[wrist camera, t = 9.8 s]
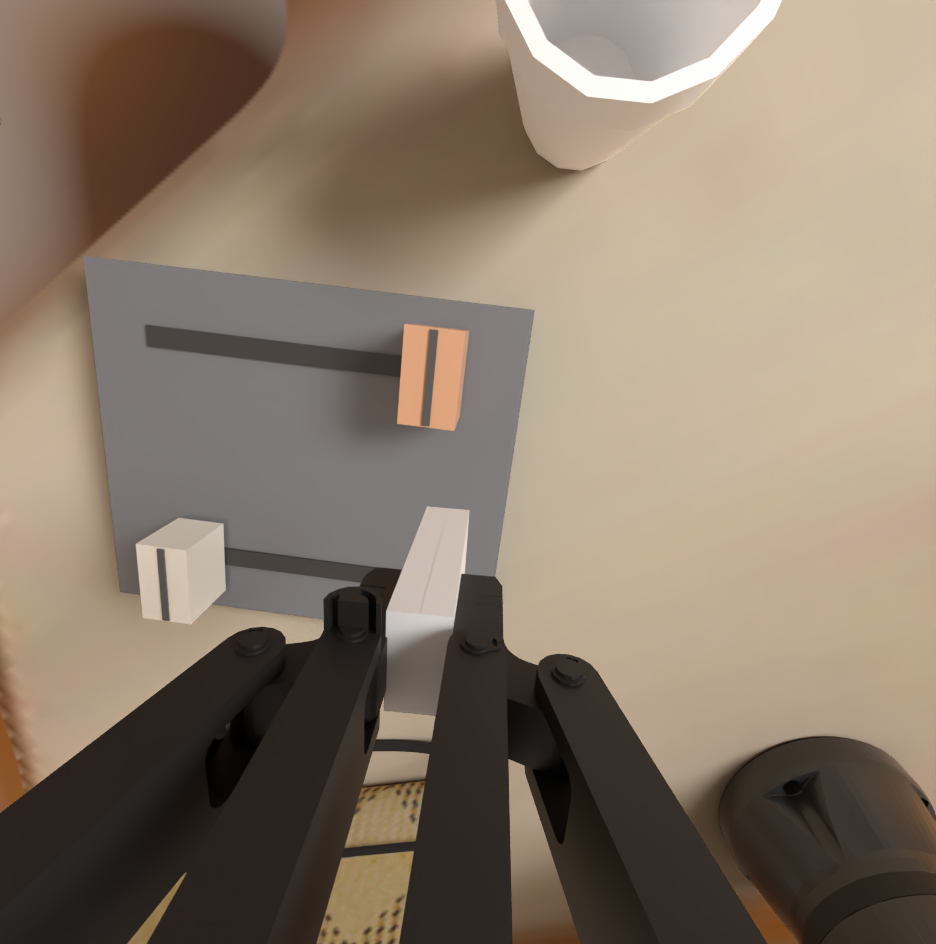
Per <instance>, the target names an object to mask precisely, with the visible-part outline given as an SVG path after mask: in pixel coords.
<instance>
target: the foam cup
mask: <svg viewBox="0 0 936 944" xmlns="http://www.w3.org/2000/svg"><path fill="white" fill-rule="evenodd" d="M781 1H782V0H496V2H497V15H498V27H499V33H500V35H501V37H502V39H503V41H504V43H505V45H506V47H507V49H508V52H509V57H510V62H511V67H512V72H513V77H514V82H515V87H516V92H517V97H518V102H519V107H520V112H521V117H522V122H523V126H524V130H525V132H526V133H527V135H528V137H529V139H530V141H531V143H532V145H533V147H534V149H535V151H536V153H537V154H538V155H540V156H541V157H543V158H544V159H545V160H547V161H548V162H550V163H551V164H552V165H554V166H555V167H557V168H561V169H570V170H580V171H583V170H585V169H588V168H590V167H593V166H595V165H597V164H600V163H602V162H605V161H607V160H608V159H610V158H612V157H613V156H614V155H616V154H617V153H618V152H620V151H621V150H622V149H624V148H625V147H627V146H628V145H629V144H631V143H632V142H633V141H635V140H636V139H638V138H639V137H640V136H642V135H643V134H644V133H646V132H647V131H649V130H650V129H651V128H653V127H654V126H655V125H657V124H658V123H660V122H661V121H662V120H664V119H665V118H666V117H668V116H670V115H673V114H675V113H678V112H680V111H683V110H685V109H688V108H690V107H691V106H692V105H693V104H694V103H695V102H696V101H697V99H698V98H699V97H700V96H701V95H702V94H703V93H704V92H705V91H706V90H707V89H708V88H709V87H710V86H711V85H712V84H713V83H714V82H715V81H716V80H717V79H718V78H719V77H720V76H721V75H722V74H723V72H724V71H725V70H726V69H727V68H728V67H729V66H730V65H731V64H732V63H733V62H734V61H735V60H736V59H737V58H738V57H739V56H740V55H741V54H742V52H743V51H744V50H745V49H746V48H747V47H748V46H749V45H750V44H751V42H752V41H753V40H754V39H755V38H756V37H757V36H758V35H759V34H760V32H761V31H762V30H763V29H764V28H765V27H766V26H767V25H768V24H769V22H770V21H771V20H772V19H773V18H774V17H775V14H776V12H777V10H778V8H779V5H780V3H781Z"/></svg>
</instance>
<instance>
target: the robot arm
mask: <svg viewBox="0 0 936 944" xmlns="http://www.w3.org/2000/svg"><path fill="white" fill-rule="evenodd" d="M468 523H469V510H463V509H451V508H439V507H428V506H427V508H426V511H425V513H424V516H423V518H422V521H421V523H420V526H419V528H418V531H417V533H416V536H415V539H414V541H413V544H412V546H411V549H410V551H409V554H408V556H407V559H406V562H405V564H404V567H403V569H392V568H381V567H376V568H375V569H373V570H372V571H370V572H369V573H367V574H366V575H365V576H364V578H363V580H362V582H361V584H360V586H355V587H345V588H340V589H337V590H335V591H333V592H331V593H329V594H328V595H327V596H326V597H325V598H324V599H323V605H324V631H323V633H322V635H321V637H320V638H319V639H316V640H313V641H308V642H302V643H293V644H286V641H285V637H284V635H283V634H282V632H280V631H278V630H276V629H274V628H267V627H257V628H256V627H255V628H249V629H246V630H243V631H240V632H237V633H236V634H234V635H232V636H230V637H229V638H227V639H226V640H225V641H223V642H222V643H221V644H219V645H218V646H217V647H216V648H214V649H213V650H212V651H210V652H209V653H208V654H206V655H205V656H204V657H203V658H201V659H200V660H199V661H197V662H196V663H195V664H193V665H192V666H191V667H190V668H188V669H187V670H186V671H184V672H183V673H182V674H180V675H179V676H178V677H177V678H175V679H174V680H173V681H171V682H170V683H169V684H167V685H166V686H165V687H164V688H162V689H161V690H160V691H158V692H157V693H156V694H154V695H153V696H152V697H151V698H149V699H148V700H147V701H145V702H144V703H143V704H141V705H140V706H139V707H138V708H136V709H135V710H134V711H132V712H131V713H130V714H128V715H127V716H126V717H125V718H123V719H122V720H121V721H119V722H118V723H117V724H115V725H114V726H113V727H112V728H110V729H109V730H108V731H106V732H105V733H104V734H102V735H101V736H100V737H99V738H97V739H96V740H95V741H93V742H92V743H91V744H89V745H88V746H87V747H85V748H84V749H83V750H82V751H80V752H79V753H78V754H76V755H75V756H74V757H72V758H71V759H70V760H69V761H67V762H66V763H65V764H63V765H62V766H61V767H59V768H58V769H57V770H56V771H54V772H53V773H52V774H50V775H49V776H48V777H46V778H45V779H44V780H43V781H41V782H40V783H39V784H37V785H36V786H35V787H33V788H32V789H31V790H30V791H28V792H27V793H26V794H24V795H23V796H22V797H21V798H19V799H18V800H17V801H15V802H14V803H13V804H11V805H10V806H9V807H7V808H6V809H5V810H4V811H2V812H1V813H0V944H127V943H128V942H129V941H130V940H131V938H132V937H133V936H134V935H135V934H136V932H137V931H138V930H139V929H140V927H141V926H142V925H143V924H144V922H145V921H146V920H147V919H148V918H149V916H150V915H151V914H152V913H153V911H154V910H155V909H156V908H157V906H158V905H159V904H160V903H161V902H162V900H163V899H164V898H165V897H166V895H167V894H168V893H169V892H170V890H171V889H172V888H173V887H174V886H175V884H176V883H177V882H178V881H179V879H180V878H181V877H182V876H183V874H184V873H185V872H186V871H187V869H188V868H189V867H190V868H189V870H188V872H187V873H186V875H185V877H184V879H183V880H182V882H181V884H180V886H179V887H178V889H177V891H176V893H175V895H174V896H173V898H172V900H171V902H170V903H169V905H168V907H167V909H166V910H165V912H164V914H163V916H162V917H161V919H160V921H159V923H158V925H157V926H156V928H155V930H154V932H153V933H152V935H151V937H150V939H149V940H148V942H147V944H317V940H318V937H319V933H320V930H321V927H322V923H323V920H324V916H325V913H326V909H327V906H328V902H329V899H330V896H331V892H332V889H333V885H334V882H335V878H336V875H337V872H338V868H339V865H340V861H341V858H342V854H343V851H344V847H345V844H346V841H347V837H348V834H349V830H350V827H351V823H352V820H353V817H354V813H355V810H356V806H357V803H358V799H359V796H360V792H361V789H362V786H363V782H364V779H365V775H366V772H367V768H368V765H369V762H370V758H371V755H372V751H373V748H374V744H375V741H376V737H377V734H378V731H379V719H380V707H381V704H382V701H383V698H384V711H393V712H403V713H413V714H423V715H432V716H436V718H435V724H434V730H433V736H432V743H431V749H430V755H429V761H428V767H427V773H426V780H425V786H424V792H423V798H422V804H421V811H420V817H419V823H418V829H417V835H416V841H415V848H414V854H413V860H412V866H411V872H410V878H409V885H408V891H407V897H406V903H405V909H404V915H403V922H402V928H401V934H400V940H399V944H512V908H511V862H510V816H509V770H508V759H510V760H513V761H515V762H517V763H520V764H522V765H525V774H526V777H527V780H528V783H529V786H530V789H531V793H532V796H533V799H534V802H535V805H536V808H537V811H538V814H539V817H540V820H541V823H542V826H543V829H544V832H545V835H546V838H547V841H548V844H549V848H550V851H551V854H552V857H553V860H554V863H555V866H556V869H557V872H558V875H559V878H560V881H561V884H562V887H563V890H564V893H565V896H566V899H567V902H568V906H569V909H570V912H571V915H572V918H573V921H574V924H575V927H576V930H577V933H578V936H579V939H580V942H581V944H767V942H766V941H765V939H764V938H763V936H762V934H761V933H760V931H759V930H758V928H757V926H756V925H755V923H754V922H753V920H752V918H751V917H750V915H749V914H748V912H747V910H746V909H745V907H744V906H743V904H742V902H741V901H740V899H739V898H738V896H737V894H736V893H735V891H734V890H733V888H732V886H731V885H730V883H729V882H728V880H727V878H726V877H725V875H724V874H723V872H722V870H721V869H720V867H719V866H718V864H717V862H716V861H715V859H714V858H713V856H712V854H711V853H710V851H709V850H708V848H707V846H706V845H705V843H704V842H703V840H702V838H701V837H700V835H699V834H698V832H697V830H696V829H695V827H694V826H693V824H692V822H691V821H690V819H689V818H688V816H687V814H686V813H685V811H684V810H683V808H682V806H681V805H680V803H679V802H678V800H677V798H676V797H675V795H674V794H673V792H672V790H671V789H670V787H669V786H668V784H667V782H666V781H665V779H664V778H663V776H662V774H661V773H660V771H659V770H658V768H657V766H656V765H655V763H654V762H653V760H652V758H651V757H650V755H649V754H648V752H647V750H646V749H645V747H644V746H643V744H642V742H641V741H640V739H639V738H638V736H637V734H636V733H635V731H634V730H633V728H632V726H631V725H630V723H629V722H628V720H627V718H626V717H625V715H624V714H623V712H622V710H621V709H620V707H619V706H618V704H617V703H616V701H615V699H614V698H613V696H612V695H611V693H610V691H609V690H608V688H607V687H606V685H605V683H604V682H603V680H602V679H601V677H600V675H599V674H598V672H597V671H596V670H595V669H594V668H593V667H592V666H591V664H589V663H587V662H586V661H584V660H582V659H581V658H578V657H575V656H572V655H567V654H554V655H549V656H547V657H545V658H544V659H542V660H541V661H540V663H539V665H535V664H532V663H529V662H526V661H524V660H522V659H519V658H518V657H516V656H515V655H513V654H512V653H511V652H510V651H509V650H508V649H507V647H506V646H505V643H504V640H503V607H502V606H503V603H502V585H501V584H500V583H499V581H498V580H497V579H496V577H494V576H483V575H472V574H465V563H466V550H467V537H468ZM719 823H720V828H721V831H722V834H723V836H724V838H725V840H726V843H727V845H728V847H729V849H730V851H731V854H732V856H733V858H734V860H735V862H736V864H737V865H738V867H739V869H740V870H741V871H742V873H743V874H744V875H745V876H746V877H747V878H748V880H749V881H750V882H751V883H752V884H753V885H754V886H755V887H756V888H757V889H758V890H759V892H760V893H761V894H762V896H763V897H764V898H765V900H766V901H767V902H768V904H769V905H770V906H771V908H772V909H773V910H774V911H775V913H776V914H777V915H778V917H779V918H780V919H781V920H782V922H783V923H784V924H785V926H786V927H787V928H788V929H789V931H790V932H791V933H792V934H793V936H794V937H795V938H796V940H797V941H798V943H799V944H936V814H935V811H934V809H933V807H932V805H931V803H930V801H929V799H928V797H927V796H926V794H925V793H924V792H923V790H922V789H921V787H920V786H919V785H918V784H917V783H916V782H915V781H914V780H913V778H912V777H911V776H910V775H909V774H908V773H907V772H906V771H905V770H904V769H903V767H902V766H901V765H900V764H899V763H898V762H897V761H896V760H895V759H894V758H892V757H891V756H890V755H889V754H887V753H886V752H884V751H882V750H881V749H879V748H877V747H874V746H872V745H870V744H867V743H864V742H861V741H857V740H852V739H846V738H836V737H820V738H810V739H804V740H799V741H794V742H791V743H787V744H784V745H781V746H779V747H776V748H774V749H771V750H769V751H767V752H765V753H764V754H762V755H760V756H758V757H757V758H755V759H754V760H752V761H751V762H750V763H748V764H747V765H746V766H745V767H743V768H742V769H741V770H740V771H739V772H738V773H737V774H736V776H735V777H734V778H733V779H732V781H731V782H730V783H729V785H728V786H727V788H726V790H725V792H724V794H723V797H722V800H721V803H720V808H719Z"/></svg>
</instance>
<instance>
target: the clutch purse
mask: <svg viewBox="0 0 936 944" xmlns="http://www.w3.org/2000/svg"><path fill="white" fill-rule="evenodd" d="M430 749H431V744H430V743H423V742H414V741H394V740H381V741H375V744H374V748H373V751H406V752H418V753H426V754H430ZM424 786H425V781H421V782H412V783H402V784H393V785H384V786H375V787H366V788H362V789H361V792H360V796H359V799H358V803H357V806H356V810H355V813H354V817H353V820H352V823H351V827H350V830H349V834H348V837H347V841H346V844H345V847H344V851H343V854H342V858H341V861H340V865H339V868H338V872H337V875H336V878H335V882H334V885H333V889H332V892H331V896H330V899H329V902H328V906H327V909H326V913H325V916H324V920H323V923H322V927H321V930H320V933H319V937H318V940H317V944H399V940H400V934H401V928H402V922H403V915H404V909H405V903H406V897H407V891H408V885H409V878H410V872H411V866H412V860H413V854H414V848H415V841H416V835H417V829H418V823H419V817H420V811H421V804H422V798H423V792H424ZM189 868H190V867H189ZM189 868H188V869H187V871H186V872H185V873H184V874H183V876H182V877H181V878H180V879H179V881H178V882H177V883H176V884H175V886H174V887H173V888H172V889H171V890H170V892H169V893H168V894H167V895H166V897H165V898H164V899H163V900H162V902H161V903H160V904H159V905H158V906H157V908H156V909H155V910H154V911H153V913H152V914H151V915H150V916H149V918H148V919H147V920H146V921H145V922H144V924H143V925H142V926H141V927H140V929H139V930H138V931H137V932H136V934H135V935H134V936H133V937H132V938H131V940H130V941H129V942H128V943H127V944H147V942H148V940H149V939H150V937H151V935H152V933H153V932H154V930H155V928H156V926H157V925H158V923H159V921H160V919H161V917H162V916H163V914H164V912H165V910H166V909H167V907H168V905H169V903H170V902H171V900H172V898H173V896H174V895H175V893H176V891H177V889H178V887H179V886H180V884H181V882H182V880H183V879H184V877H185V875H186V873H187V872H188V870H189Z"/></svg>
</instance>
